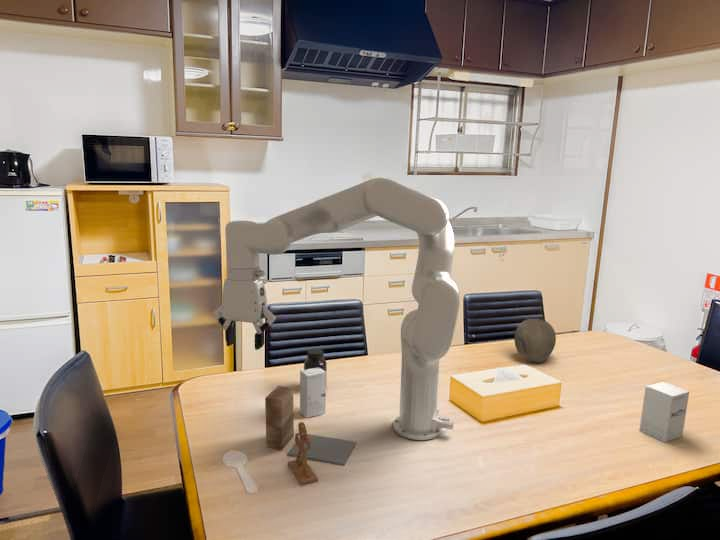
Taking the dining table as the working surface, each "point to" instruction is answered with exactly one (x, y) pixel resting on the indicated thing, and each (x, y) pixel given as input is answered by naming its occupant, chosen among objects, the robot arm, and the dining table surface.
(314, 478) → the wooden figurine
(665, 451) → the dining table surface
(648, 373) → the dining table surface
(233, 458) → the spoon
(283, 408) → the walnut box
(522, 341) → the cantaloupe
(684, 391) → the supplement box
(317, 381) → the skincare box
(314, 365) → the supplement bottle
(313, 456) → the rubber mat
